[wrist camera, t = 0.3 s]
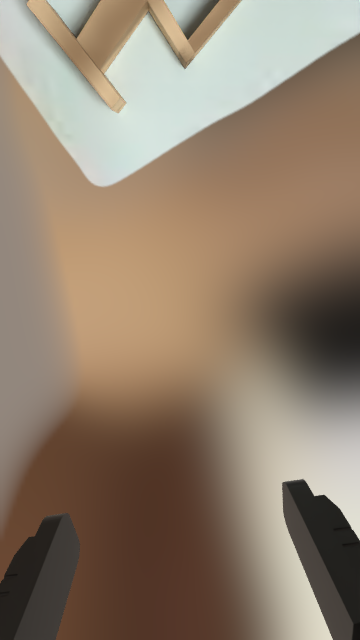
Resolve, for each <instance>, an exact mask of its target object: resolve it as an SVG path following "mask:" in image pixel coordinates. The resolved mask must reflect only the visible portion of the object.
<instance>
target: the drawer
mask: <svg viewBox="0 0 360 640" xmlns="http://www.w3.org/2000/svg"><path fill="white" fill-rule="evenodd" d="M241 1H242V0H219V2H218V3H217V4H216V5H215V7H214V8H213V9H212V10H211V12H210V13H209V14H208V15H207V17H206V18H205V19H204V21H203V22H202V23H201V24H200V26H199V27H198V28H197V29H196V31H195V32H194V33H193V34H192V36H191V37H190V38H189V39H188V40H187V39H186V37H185V35H184V34H183V32H182V30H181V29H180V27H179V25H178V24H177V22H176V20H175V19H174V17H173V15H172V13H171V12H170V10H169V8H168V7H167V5H166V3H165V2H164V0H101V1H100V2H99V4H98V5H97V7H96V9H95V10H94V12H93V13H92V15H91V17H90V18H89V20H88V21H87V23H86V24H85V26H84V28H83V29H82V31H81V32H80V34H79V36H78V37H77V38H76V37H75V36H74V35H73V33H72V32H71V31H70V29H69V28H68V27H67V26H66V24H65V23H64V22H63V20H62V19H61V18H60V16H59V15H58V14H57V13H56V11H55V10H54V9H53V8H52V7H51V5H50V4H49V3H48V2H47V1H46V0H29V1H28V3H27V6H28V7H29V8H30V10H31V11H32V12H33V13H34V14H35V16H36V17H37V18H38V19H39V21H40V22H41V23H42V24H43V26H44V27H45V28H46V29H47V31H48V32H49V33H50V34H51V35H52V37H53V38H54V39H55V40H56V42H57V43H58V44H59V45H60V47H61V48H62V49H63V50H64V52H65V53H66V54H67V55H68V56H69V58H70V59H71V60H72V61H73V63H74V64H75V65H76V66H77V68H78V69H79V70H80V71H81V73H82V74H83V75H84V76H85V77H86V79H87V80H88V81H89V82H90V84H91V85H92V86H93V87H94V89H95V90H96V91H97V92H98V94H99V95H100V96H101V97H102V98H103V100H104V101H105V102H106V103H107V105H108V106H109V107H110V108H111V110H113V111H115V112H117V113H119V112H120V111H121V109H122V108H123V107H124V106H125V104H126V102H125V101H124V99H123V98H122V97H121V95H120V94H119V93H118V92H117V90H116V89H115V88H114V86H113V85H112V84H111V82H110V81H109V80H108V79H107V77H106V76H105V75H104V73H105V72H106V70H107V69H108V68H109V66H110V65H111V63H112V62H113V60H114V59H115V58H116V56H117V55H118V53H119V52H120V51H121V49H122V48H123V46H124V45H125V43H126V42H127V41H128V39H129V38H130V36H131V35H132V33H133V32H134V31H135V29H136V28H137V26H138V25H139V24H140V22H141V21H142V19H143V18H144V16H145V15H146V14H147V12H148V11H149V12H150V14H151V15H152V17H153V19H154V20H155V22H156V23H157V25H158V27H159V28H160V30H161V31H162V33H163V35H164V36H165V38H166V39H167V41H168V43H169V44H170V46H171V47H172V49H173V51H174V52H175V54H176V55H177V57H178V58H179V60H180V62H181V63H182V65H183V66H184V68H186V67H187V66H188V65H189V64H190V62H191V61H192V60H193V59H194V58H195V56H196V55H197V54H198V53H199V51H200V50H201V49H202V48H203V47H204V45H205V44H206V43H207V42H208V41H209V39H210V38H211V37H212V36H213V34H214V33H215V32H216V31H217V30H218V28H219V27H220V26H221V25H222V24H223V22H224V21H225V20H226V19H227V18H228V16H229V15H230V14H231V13H232V11H233V10H234V9H235V8H236V7H237V5H238V4H239V3H240V2H241Z"/></svg>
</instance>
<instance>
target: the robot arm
mask: <svg viewBox="0 0 360 640" xmlns="http://www.w3.org/2000/svg"><path fill="white" fill-rule="evenodd" d="M282 486H283V487H282V490H283V512H284V518H285V521H286V525H287V528H288V531H289V534H290V536H291V538H292V541H293V543H294V545H295V548H296V550H297V553H298V556H299V558H300V560H301V563H302V565H303V568H304V570H305V573H306V575H307V577H308V580H309V582H310V585H311V587H312V589H313V592H314V595H315V597H316V599H317V602H318V604H319V607H320V609H321V612H322V614H323V616H324V619H325V621H326V624H327V626H328V628H329V631H330V634H331V636H332V638H333V640H360V540H359V539H358V537H357V535H356V534H355V532H354V531H353V530H352V529H351V526H350V524H349V523H348V521H347V520H346V518H345V517H344V515H343V513H342V512H341V510H340V509H339V508H338V507H337V506H336V505H335V504H334V503H333V502H332V501H331V500H329V499H328V498H327V497H326V496H325V495H319V496H314V495H313V493H312V491H311V490H310V488H309V486H308V484H307V483H306V482H305V480H303V479H301V480H294V481H287V482H283V483H282ZM79 552H80V543H79V539H78V536H77V534H76V531H75V528H74V526H73V523H72V521H71V518H70V516H69V514H68V513H65V514H58V515H52V516H47V517H45V518H44V519H43V521H42V523H41V525H40V527H39V529H38V531H37V533H36V535H35V536H34V537H29V538H28V539H27V540H26V541H25V543H24V544H23V545H22V546H21V548H20V549H19V550H18V551H17V553H16V554H15V555H14V557H13V559H12V561H11V563H10V565H9V567H8V569H7V571H6V573H5V576H4V579H3V580H2V581H1V583H0V640H55V639H56V636H57V632H58V629H59V626H60V622H61V619H62V615H63V612H64V608H65V605H66V601H67V598H68V595H69V591H70V588H71V584H72V581H73V577H74V574H75V570H76V567H77V563H78V559H79Z"/></svg>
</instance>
